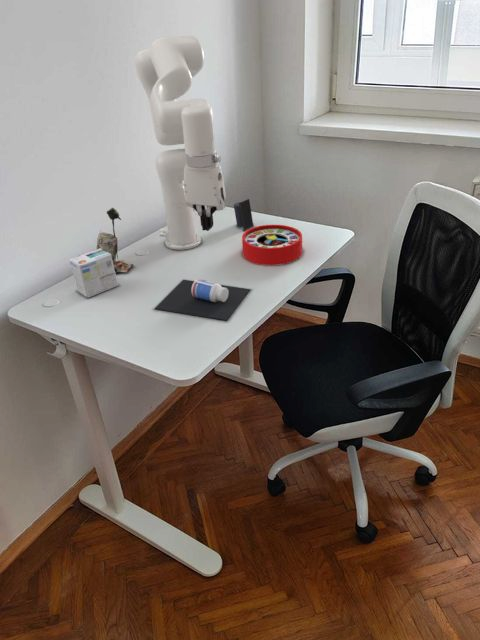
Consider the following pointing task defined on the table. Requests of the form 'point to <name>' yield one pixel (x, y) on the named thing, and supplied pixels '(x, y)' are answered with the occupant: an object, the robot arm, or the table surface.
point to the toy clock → (272, 244)
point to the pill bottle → (209, 291)
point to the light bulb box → (93, 272)
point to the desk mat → (202, 302)
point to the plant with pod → (112, 244)
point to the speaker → (243, 214)
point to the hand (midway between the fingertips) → (207, 228)
